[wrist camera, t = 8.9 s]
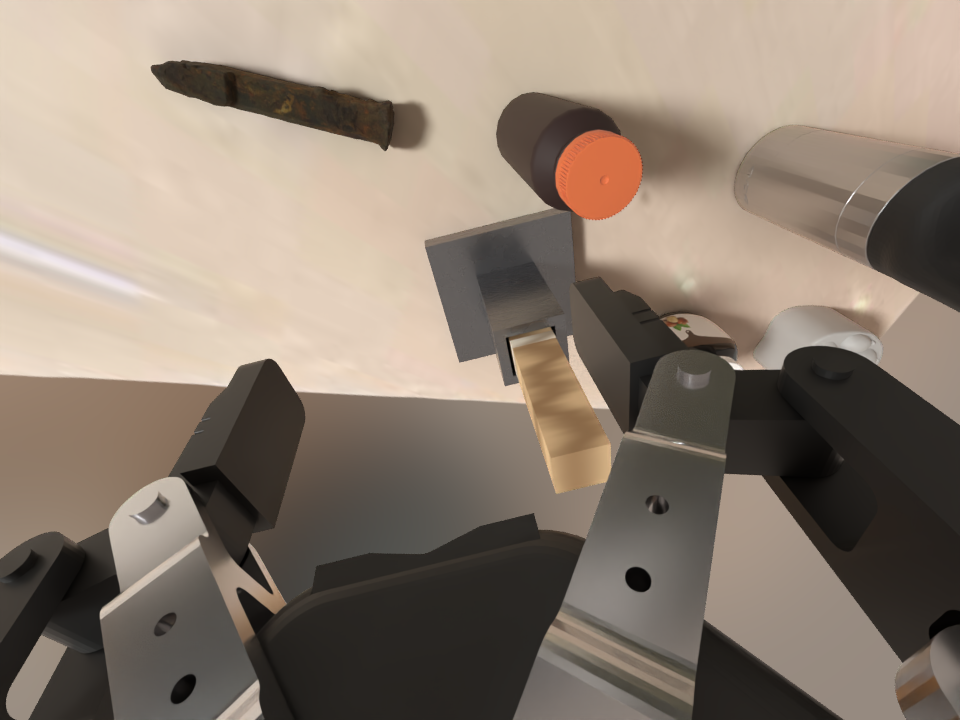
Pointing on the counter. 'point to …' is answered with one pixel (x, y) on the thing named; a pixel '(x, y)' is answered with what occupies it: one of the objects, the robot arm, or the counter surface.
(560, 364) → the oak post
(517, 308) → the metal sleeve stand
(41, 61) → the counter surface
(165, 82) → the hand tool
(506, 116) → the bottle
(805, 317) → the lumpy-topped squat cylinder
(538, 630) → the robot arm
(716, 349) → the spread jar
